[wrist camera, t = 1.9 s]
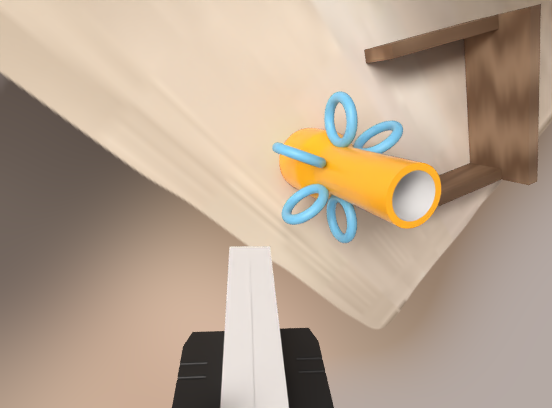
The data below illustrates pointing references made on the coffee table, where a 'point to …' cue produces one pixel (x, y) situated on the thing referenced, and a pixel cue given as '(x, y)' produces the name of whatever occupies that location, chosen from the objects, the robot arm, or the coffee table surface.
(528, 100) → the pocket
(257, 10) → the coffee table surface
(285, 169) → the cylinder
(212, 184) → the coffee table surface
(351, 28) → the coffee table surface
